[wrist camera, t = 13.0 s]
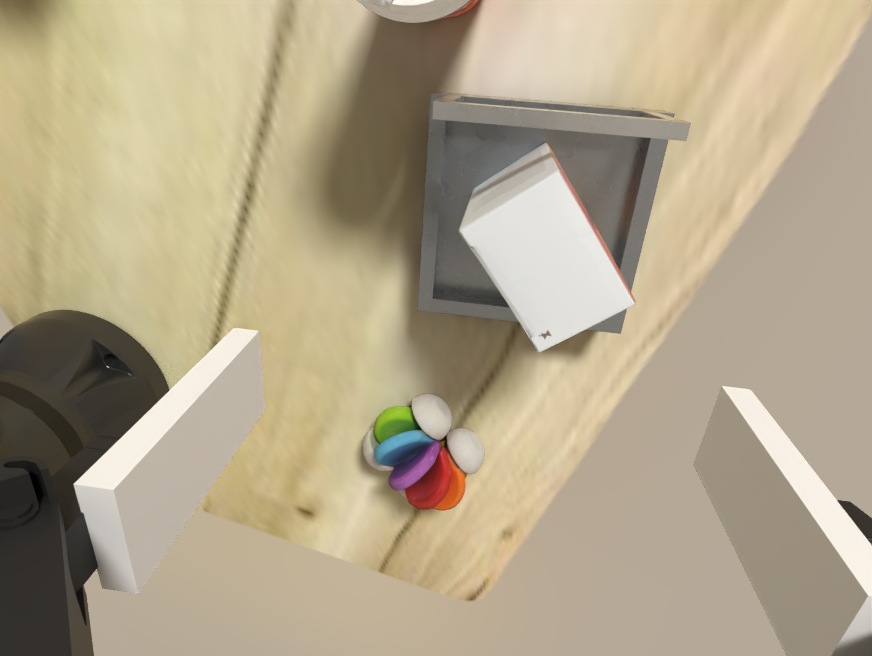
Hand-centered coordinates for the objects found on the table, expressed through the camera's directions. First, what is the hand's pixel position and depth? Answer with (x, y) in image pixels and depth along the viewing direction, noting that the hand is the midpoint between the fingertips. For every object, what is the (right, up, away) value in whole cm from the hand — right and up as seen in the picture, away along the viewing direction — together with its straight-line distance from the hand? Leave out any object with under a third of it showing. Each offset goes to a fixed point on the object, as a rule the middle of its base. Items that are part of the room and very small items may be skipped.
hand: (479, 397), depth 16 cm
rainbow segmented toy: (-2, -7, +32) cm, 33 cm away
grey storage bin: (+5, +10, +22) cm, 25 cm away
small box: (+6, +9, +20) cm, 23 cm away
